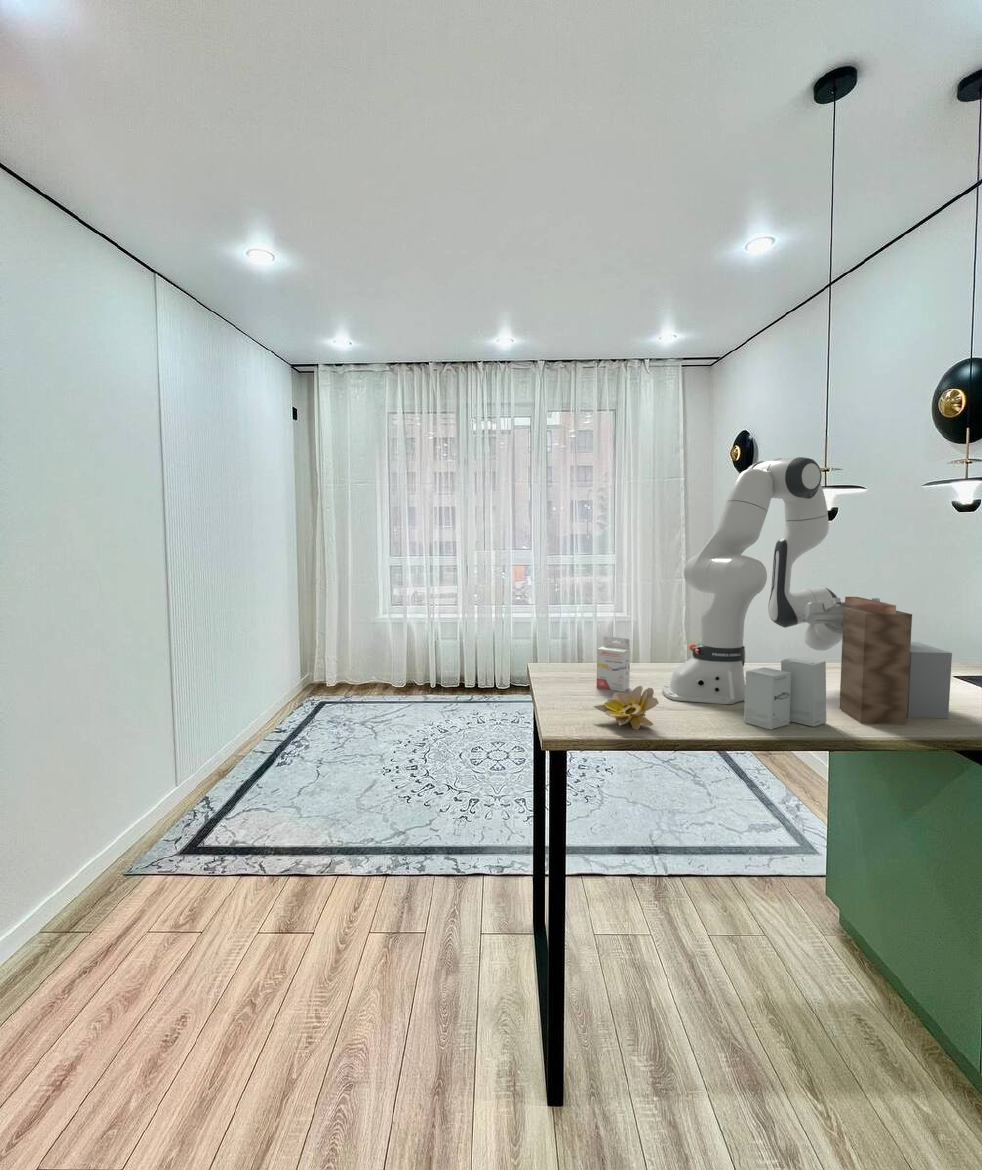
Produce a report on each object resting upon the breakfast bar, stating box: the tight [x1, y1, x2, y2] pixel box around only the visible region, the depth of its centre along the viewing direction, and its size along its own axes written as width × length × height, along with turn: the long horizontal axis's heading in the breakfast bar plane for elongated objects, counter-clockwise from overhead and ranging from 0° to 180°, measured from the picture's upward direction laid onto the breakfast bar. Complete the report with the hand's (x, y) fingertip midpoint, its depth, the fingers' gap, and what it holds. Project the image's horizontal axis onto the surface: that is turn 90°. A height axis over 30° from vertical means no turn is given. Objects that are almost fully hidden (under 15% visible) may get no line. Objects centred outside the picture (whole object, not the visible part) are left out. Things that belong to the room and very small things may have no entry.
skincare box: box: [780, 656, 827, 728], centre depth 148 cm, size 8×6×15 cm
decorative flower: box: [592, 685, 659, 731], centre depth 148 cm, size 15×11×10 cm
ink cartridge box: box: [596, 635, 631, 692], centre depth 181 cm, size 9×5×15 cm, turn 58°
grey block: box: [907, 641, 953, 719], centre depth 158 cm, size 9×16×16 cm, turn 172°
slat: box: [844, 596, 897, 614], centre depth 154 cm, size 3×20×2 cm, turn 172°
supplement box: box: [743, 667, 791, 731], centre depth 146 cm, size 7×7×13 cm
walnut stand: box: [838, 608, 913, 726], centre depth 151 cm, size 10×12×26 cm
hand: (857, 600), depth 160 cm, fingers open, 8 cm apart
